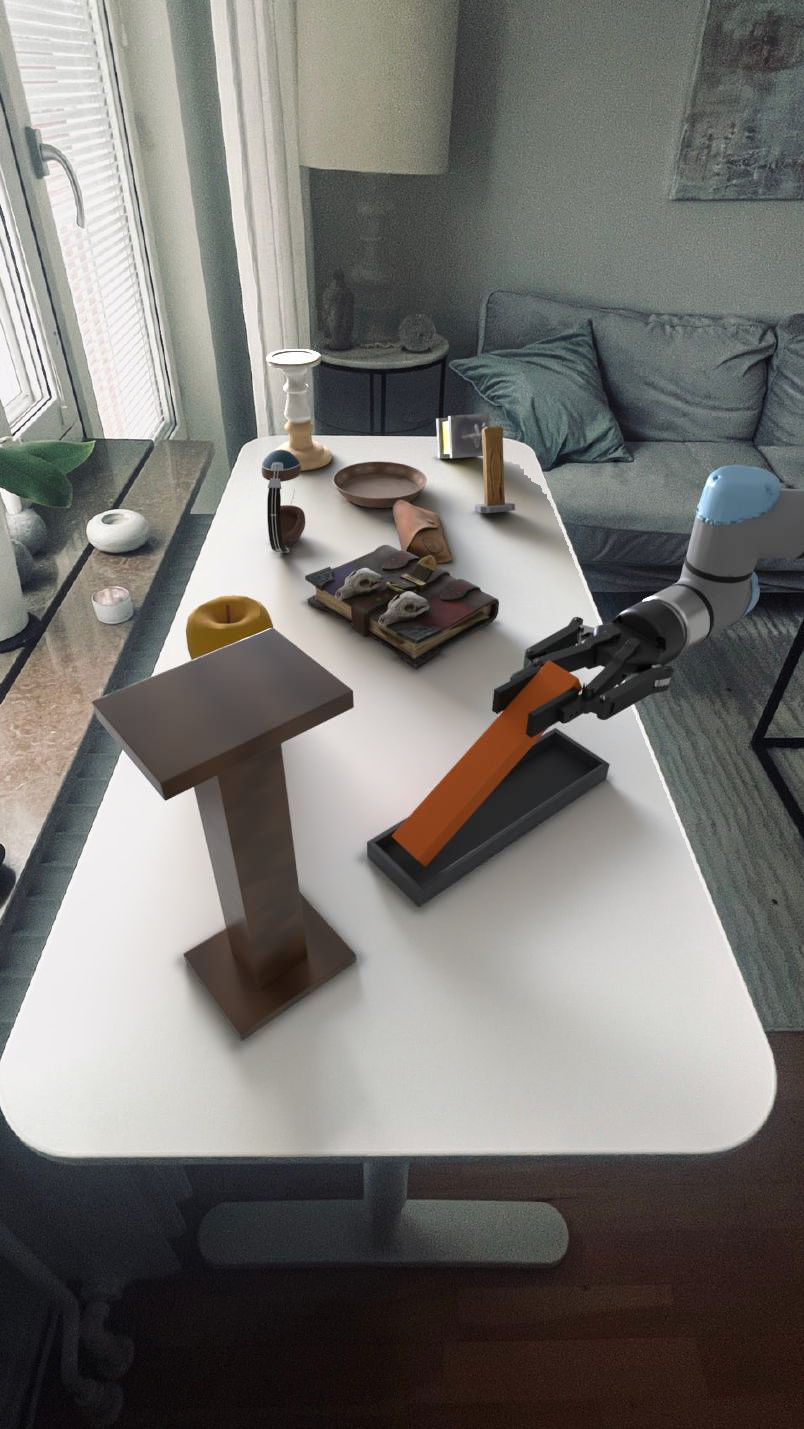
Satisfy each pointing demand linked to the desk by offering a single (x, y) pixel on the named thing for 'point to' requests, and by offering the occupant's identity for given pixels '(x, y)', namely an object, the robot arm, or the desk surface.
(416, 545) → the sunglasses case
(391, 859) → the tray
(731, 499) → the robot arm
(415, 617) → the book
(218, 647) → the apple
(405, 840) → the orange long flat bar
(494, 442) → the desk lamp
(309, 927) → the stand
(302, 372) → the candle holder
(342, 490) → the plant saucer
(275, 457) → the headphones
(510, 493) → the desk surface
